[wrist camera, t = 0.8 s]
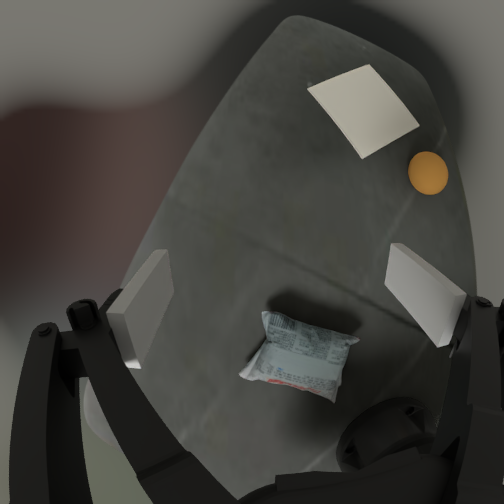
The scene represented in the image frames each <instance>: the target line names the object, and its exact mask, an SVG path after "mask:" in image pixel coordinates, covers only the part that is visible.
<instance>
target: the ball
mask: <svg viewBox="0 0 504 504" xmlns="http://www.w3.org/2000/svg"><path fill="white" fill-rule="evenodd" d="M408 175H409V179H410V181H411V183H412V185H413V186H414V188H415V189H416V190H418V191H419V192H421V193H423V194H426V195H433V194H437V193H439V192H440V191H442V190H443V189H444V187H445V186H446V184H447V181H448V170H447V166H446V164H445V162H444V161H443V160H442V158H441V157H440V156H438V155H437V154H435V153H433V152H427V151H425V152H420V153H418V154H416V155H415V156H414V157H413V158H412V160H411V161H410V164H409V167H408Z"/></svg>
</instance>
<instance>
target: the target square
mask: <svg viewBox="0 0 504 504" xmlns="http://www.w3.org/2000/svg"><path fill="white" fill-rule="evenodd" d="M307 90H308V91H309V92H310V93H311V94H312V95H313V97H314V98H315V99H316V100H317V101H318V102H319V104H320V105H321V106H322V107H323V108H324V110H325V111H326V112H327V113H328V115H329V116H330V117H331V118H332V120H333V121H334V122H335V123H336V125H337V126H338V127H339V128H340V130H341V131H342V132H343V134H344V135H345V136H346V138H347V139H348V140H349V142H350V143H351V144H352V146H353V147H354V149H355V150H356V151H357V153H358V154H359V156H360V157H361V158H362V159H363V158H365V157H367V156H368V155H370V154H372V153H374V152H375V151H377V150H379V149H380V148H382V147H384V146H386V145H387V144H389V143H391V142H392V141H394V140H396V139H398V138H399V137H401V136H403V135H405V134H406V133H408V132H410V131H412V130H413V129H415V128H417V127H419V126H420V125H419V124H418V122H417V121H416V120H415V118H414V117H413V116H412V114H411V113H410V112H409V110H408V109H407V108H406V106H405V105H404V104H403V103H402V101H401V100H400V99H399V98H398V96H397V95H396V94H395V93H394V92H393V90H392V89H391V88H390V87H389V86H388V85H387V83H386V82H385V81H384V80H383V79H382V78H381V77H380V76H379V75H378V73H377V72H376V71H375V70H374V69H373V68H372V67H371V66H370V65H369V64H368V65H365V66H363V67H360V68H357V69H354V70H352V71H349V72H346V73H344V74H341V75H339V76H336V77H334V78H331V79H329V80H326V81H324V82H321V83H319V84H317V85H314V86H312V87H310V88H308V89H307Z"/></svg>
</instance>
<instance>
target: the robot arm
mask: <svg viewBox="0 0 504 504" xmlns="http://www.w3.org/2000/svg"><path fill="white" fill-rule="evenodd" d="M385 285H386V286H387V288H388V289H389V290H390V291H391V292H392V293H393V294H394V296H395V297H396V298H397V299H398V300H399V301H400V302H401V304H402V305H403V306H404V307H405V308H406V310H407V311H408V312H409V313H410V314H411V315H412V317H413V318H414V319H415V320H416V321H417V323H418V324H419V325H420V326H421V328H422V329H423V330H424V331H425V333H426V334H427V335H428V336H429V338H430V339H431V340H432V341H433V343H434V344H435V345H436V346H437V347H441V346H445V345H449V342H450V340H451V338H452V335H453V334H454V335H455V336H456V338H457V339H456V342H455V344H454V346H453V349H452V351H451V353H450V356H449V358H451V356H452V355H453V358H452V364H451V371H450V377H449V382H448V387H447V392H446V397H445V401H444V406H443V410H442V414H441V418H440V422H439V425H438V429H437V427H436V424H435V421H434V418H433V416H432V414H431V412H430V411H429V410H428V409H427V408H426V407H425V406H424V405H423V404H422V403H421V402H419V401H418V400H415V399H412V398H395V399H390V400H387V401H384V402H382V403H379V404H377V405H375V406H373V407H372V408H370V409H368V410H367V411H365V412H364V413H363V414H361V415H360V416H359V417H357V418H356V419H355V420H354V421H353V422H352V423H351V424H350V425H349V426H348V428H347V429H346V430H345V432H344V433H343V435H342V436H341V438H340V440H339V443H338V446H337V450H336V457H337V461H338V464H339V467H340V469H341V471H342V472H320V471H312V472H304V473H295V474H284V475H276V477H275V483H274V484H270V485H267V486H264V487H261V488H259V489H256V490H254V491H252V492H250V493H248V494H247V495H245V496H244V497H242V498H241V499H239V500H237V499H236V498H234V497H233V496H232V495H231V494H230V493H229V492H228V491H227V490H226V489H225V488H224V487H223V486H222V485H221V484H220V483H219V482H218V481H217V480H216V479H215V478H214V477H213V476H212V474H211V473H210V472H209V471H208V470H207V469H206V468H205V467H204V466H203V465H202V464H201V462H200V461H199V460H198V459H197V458H196V457H195V456H194V455H193V454H192V453H191V452H189V451H186V450H185V449H184V448H183V447H182V445H181V444H180V443H179V442H178V440H177V439H176V438H175V437H174V435H173V434H172V433H171V431H170V430H169V429H168V427H167V426H166V425H165V423H164V422H163V421H162V419H161V418H160V417H159V415H158V414H157V412H156V411H155V410H154V408H153V407H152V405H151V404H150V402H149V401H148V399H147V398H146V396H145V395H144V393H143V392H142V390H141V389H140V387H139V386H138V384H137V382H136V381H135V379H134V378H133V376H132V374H131V373H130V371H129V369H128V368H127V367H130V368H139V369H141V368H142V365H143V363H144V360H145V358H146V355H147V353H148V351H149V348H150V346H151V344H152V341H153V339H154V336H155V334H156V332H157V330H158V327H159V325H160V323H161V320H162V318H163V316H164V314H165V311H166V309H167V307H168V305H169V303H170V300H171V298H172V296H173V294H174V289H173V283H172V276H171V270H170V263H169V255H168V249H163V250H155V251H154V252H153V253H152V254H151V255H150V257H149V258H148V259H147V260H146V261H145V263H144V264H143V265H142V266H141V268H140V269H139V270H138V271H137V273H136V274H135V275H134V276H133V278H132V279H131V280H130V282H129V283H128V284H127V285H126V287H125V288H124V289H118V290H116V291H115V292H113V293H112V294H111V295H110V296H109V297H108V299H107V300H106V301H105V302H104V304H103V305H102V306H101V307H100V309H99V310H98V307H97V304H96V302H95V301H94V300H91V299H83V300H79V301H76V302H74V303H72V304H71V305H70V306H69V307H68V308H67V311H66V313H67V316H68V319H69V321H70V324H71V327H72V329H73V331H66V332H59V329H58V327H57V325H56V324H55V323H52V322H50V323H42V324H40V325H39V326H37V327H36V328H35V329H34V330H33V332H32V334H31V337H30V341H29V344H28V348H27V351H26V355H25V359H24V363H23V367H22V371H21V376H20V380H19V385H18V390H17V396H16V401H15V407H14V414H13V422H12V430H11V441H10V458H9V459H10V460H9V490H10V491H9V492H10V503H9V504H93V502H92V497H91V492H90V488H89V483H88V477H87V471H86V465H85V458H84V450H83V442H82V432H81V419H80V398H79V378H80V377H89V380H90V382H91V385H92V387H93V390H94V392H95V395H96V397H97V399H98V402H99V404H100V406H101V409H102V411H103V413H104V415H105V417H106V419H107V421H108V423H109V426H110V428H111V430H112V432H113V434H114V435H115V437H116V439H117V441H118V443H119V445H120V447H121V449H122V450H123V452H124V454H125V456H126V457H127V459H128V461H129V463H130V464H131V466H132V468H133V469H134V471H135V473H136V475H137V479H138V481H139V483H140V484H141V486H142V487H143V489H144V490H145V492H146V494H147V495H148V496H149V498H150V499H151V501H152V502H153V504H504V485H503V484H502V483H503V478H504V299H503V300H502V302H501V305H500V307H493V304H492V303H491V302H490V301H489V300H487V299H485V298H483V297H478V296H475V297H472V298H471V297H470V296H469V295H468V294H467V293H466V292H464V291H463V290H462V289H461V288H459V287H458V286H457V285H456V284H455V283H454V282H452V281H451V280H450V279H448V278H447V277H445V276H444V275H443V274H442V273H440V272H439V271H438V270H437V269H435V268H434V267H433V266H431V265H430V264H429V263H428V262H426V261H425V260H424V259H422V258H421V257H420V256H418V255H417V254H416V253H414V252H413V251H412V250H410V249H409V248H407V247H406V246H405V245H403V244H402V243H391V248H390V254H389V261H388V267H387V273H386V278H385Z"/></svg>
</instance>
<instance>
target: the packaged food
mask: <svg viewBox="0 0 504 504" xmlns="http://www.w3.org/2000/svg"><path fill="white" fill-rule="evenodd" d="M261 317H262V322H263V324H264V328H265V330H266V336H267V338H266V340H265V341H264V343H263V345H262V346H261V347H260V349H259V350H258V351H257V352H256V354H255V355H254V356H253V358H252V359H251V360H250V361H249V363H248V364H247V365H246V367H244V368H243V369H242V370H241V371H240V373H239V375H240V376H241V377H243V378H244V379H248V380H257V379H260V380H262V381H266V382H270V383H275V384H284V385H290V386H292V387H294V388H298V389H300V390H302V391H304V390H306V391H310V392H312V393H315V394H318V395H320V396H323V397H325V398H327V399H329V400H331V401H332V402H333V403H335V400H336V394H337V390H338V386H340V385H341V383H342V379H341V376H342V369H343V367H344V365H345V363H346V360H347V356H348V352H349V348H350V345H353V344H355V343H356V342H357V341H359V340H360V338H358V337H356V336H352V335H347V334H343V333H339V332H336V331H333V330H329V329H324V328H321V327H318V326H313V325H308V324H306V323H303V322H300V321H297V320H294V319H291V318H290V317H287V316H286V315H284V314H282V313H279V312H276V311H264V312H262V316H261ZM335 390H336V391H335Z"/></svg>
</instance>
